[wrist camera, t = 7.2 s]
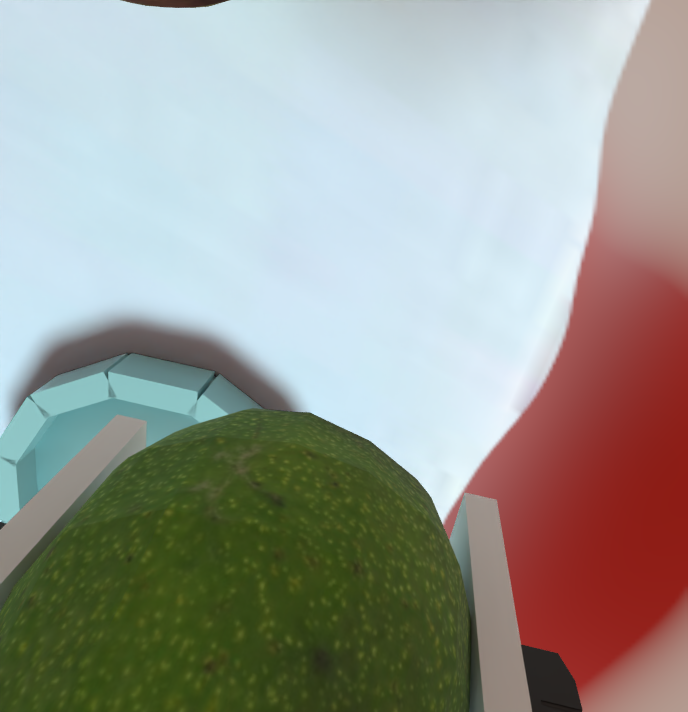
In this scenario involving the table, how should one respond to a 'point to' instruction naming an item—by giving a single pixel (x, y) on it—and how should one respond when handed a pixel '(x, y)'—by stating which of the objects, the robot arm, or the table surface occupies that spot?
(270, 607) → the avocado
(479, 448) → the table surface
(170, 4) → the decorative mushroom
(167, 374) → the dish
